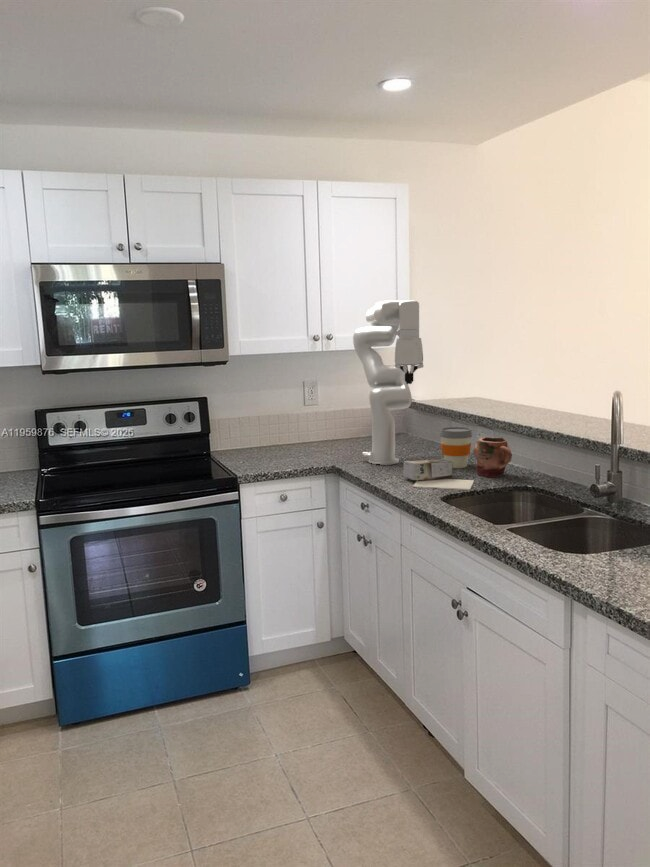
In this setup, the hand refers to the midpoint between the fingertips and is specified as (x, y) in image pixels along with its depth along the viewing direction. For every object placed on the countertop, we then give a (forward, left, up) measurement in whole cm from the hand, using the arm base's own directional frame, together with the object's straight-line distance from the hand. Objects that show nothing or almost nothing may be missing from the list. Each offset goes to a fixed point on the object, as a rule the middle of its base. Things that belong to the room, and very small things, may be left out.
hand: (409, 383), depth 267 cm
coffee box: (+1, -11, -31) cm, 33 cm away
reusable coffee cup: (+15, +21, -35) cm, 44 cm away
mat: (+15, -13, -35) cm, 40 cm away
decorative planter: (+31, +6, -35) cm, 47 cm away
